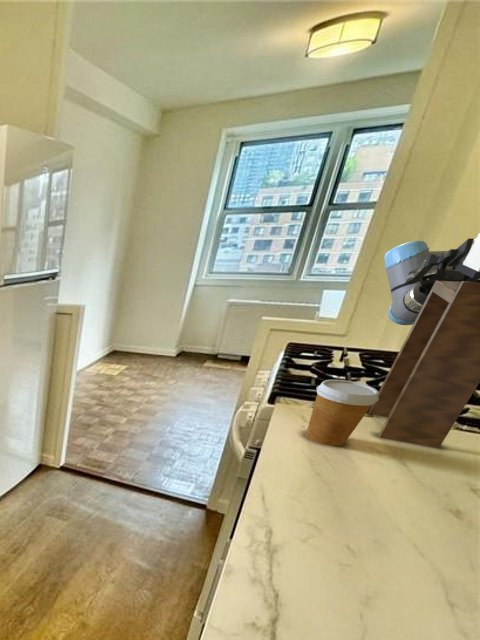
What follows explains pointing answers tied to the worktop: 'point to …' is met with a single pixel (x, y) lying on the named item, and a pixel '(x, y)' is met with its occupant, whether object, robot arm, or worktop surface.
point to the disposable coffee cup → (339, 410)
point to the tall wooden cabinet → (434, 367)
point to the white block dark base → (471, 261)
